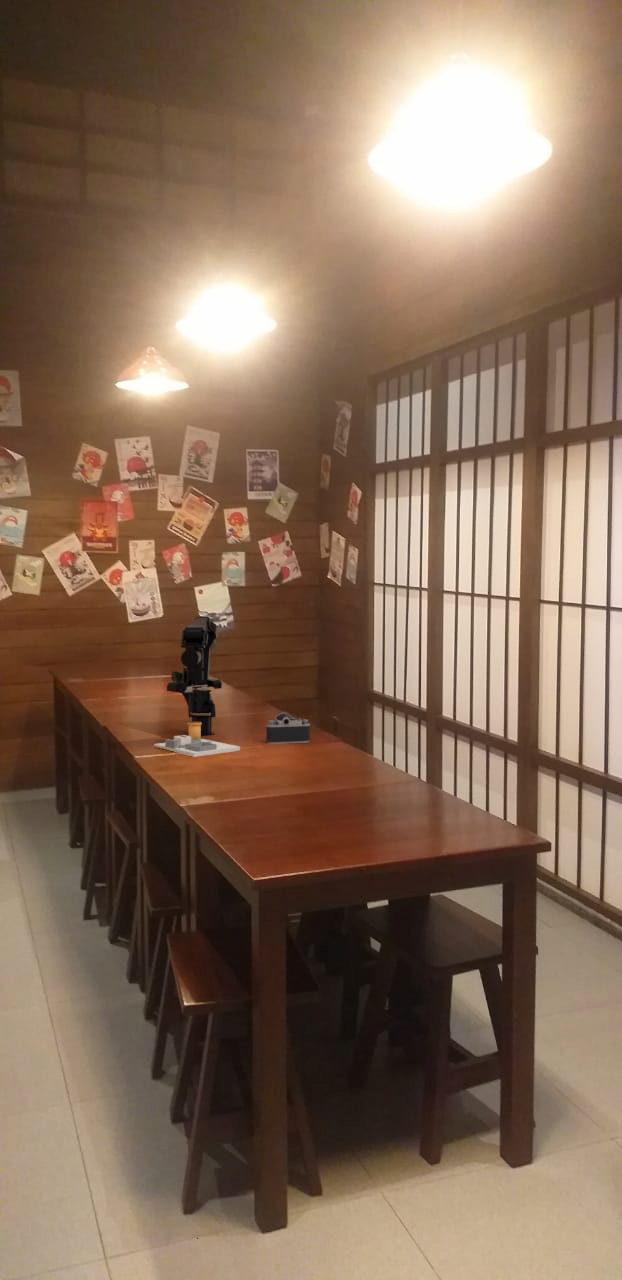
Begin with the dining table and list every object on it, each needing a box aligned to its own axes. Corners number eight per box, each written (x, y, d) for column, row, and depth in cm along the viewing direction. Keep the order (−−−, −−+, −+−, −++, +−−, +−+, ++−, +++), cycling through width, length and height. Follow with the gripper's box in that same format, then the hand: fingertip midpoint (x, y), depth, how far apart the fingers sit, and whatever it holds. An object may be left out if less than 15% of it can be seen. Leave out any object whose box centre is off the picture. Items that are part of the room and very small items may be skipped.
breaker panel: (199, 741, 330) (199, 731, 330) (239, 750, 314) (239, 739, 314) (154, 747, 318) (154, 736, 318) (194, 757, 302) (194, 745, 302)
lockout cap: (196, 739, 329) (196, 721, 328) (204, 740, 325) (204, 722, 325) (184, 740, 326) (184, 722, 325) (193, 742, 322) (193, 724, 322)
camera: (306, 738, 338) (306, 710, 338) (311, 742, 330) (312, 713, 330) (262, 740, 335) (262, 711, 334) (266, 744, 327) (266, 714, 326)
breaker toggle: (183, 744, 318) (183, 734, 317) (191, 745, 315) (191, 736, 315) (173, 745, 315) (173, 735, 315) (180, 747, 312) (180, 737, 312)
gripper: (202, 661, 336) (202, 706, 337) (157, 664, 323) (157, 711, 324) (222, 663, 328) (222, 709, 329) (176, 666, 315) (176, 715, 316)
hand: (194, 711), depth 325 cm, fingers open, 3 cm apart
